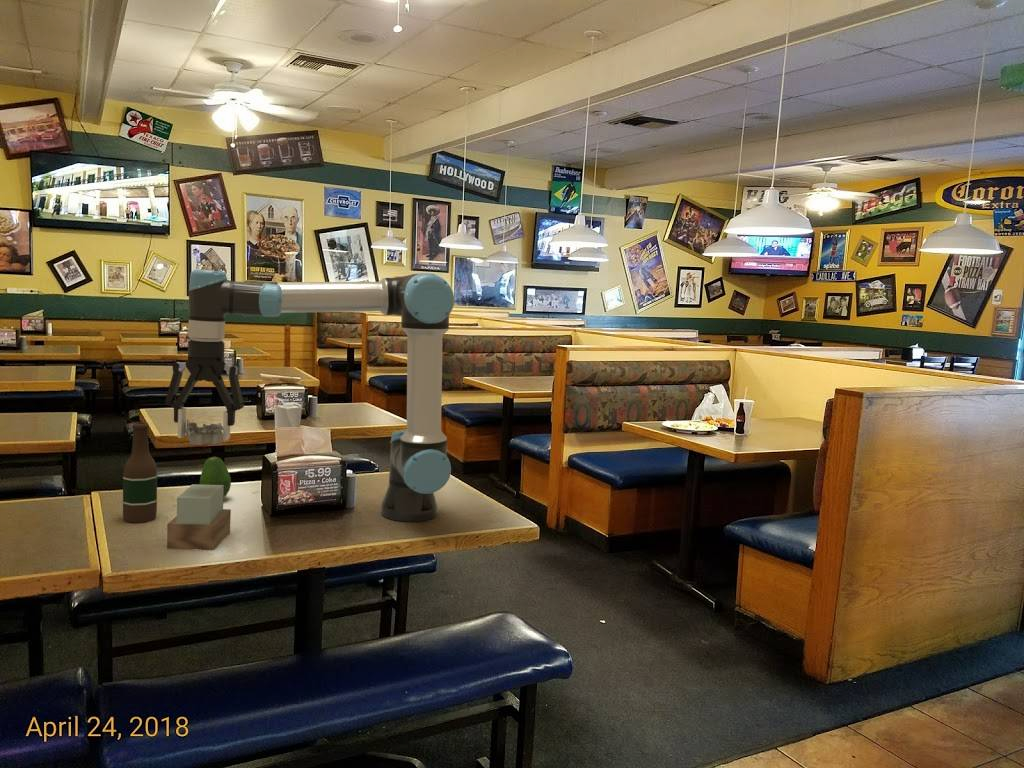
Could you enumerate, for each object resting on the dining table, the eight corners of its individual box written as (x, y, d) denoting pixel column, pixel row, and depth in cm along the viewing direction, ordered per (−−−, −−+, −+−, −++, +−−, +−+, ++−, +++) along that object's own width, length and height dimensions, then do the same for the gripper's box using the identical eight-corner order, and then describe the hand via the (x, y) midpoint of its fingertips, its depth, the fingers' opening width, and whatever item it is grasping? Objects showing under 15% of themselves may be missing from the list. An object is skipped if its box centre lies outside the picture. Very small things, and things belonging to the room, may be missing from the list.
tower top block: (223, 509, 171) (223, 485, 170) (209, 524, 160) (210, 498, 159) (192, 509, 170) (192, 484, 169) (176, 523, 159) (176, 497, 158)
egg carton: (185, 436, 166) (185, 418, 165) (220, 435, 169) (220, 418, 169) (187, 445, 156) (187, 427, 156) (224, 444, 160) (224, 426, 159)
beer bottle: (151, 511, 183) (152, 419, 180) (162, 520, 177) (163, 424, 174) (117, 516, 177) (118, 421, 174) (128, 525, 172) (128, 427, 169)
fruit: (198, 497, 198) (198, 454, 196) (228, 495, 201) (229, 453, 200) (200, 505, 191) (201, 461, 189) (232, 503, 194) (233, 459, 193)
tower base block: (230, 533, 172) (230, 509, 171) (213, 551, 160) (214, 525, 159) (187, 531, 171) (187, 507, 170) (167, 549, 159) (167, 523, 159)
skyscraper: (267, 498, 200) (270, 399, 197) (272, 490, 208) (275, 395, 205) (299, 499, 202) (302, 401, 198) (302, 491, 210) (305, 396, 206)
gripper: (261, 342, 165) (258, 437, 168) (163, 335, 163) (161, 432, 166) (251, 344, 157) (248, 444, 160) (148, 337, 156) (147, 438, 158)
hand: (204, 438), depth 163 cm, fingers closed on egg carton, 9 cm apart
